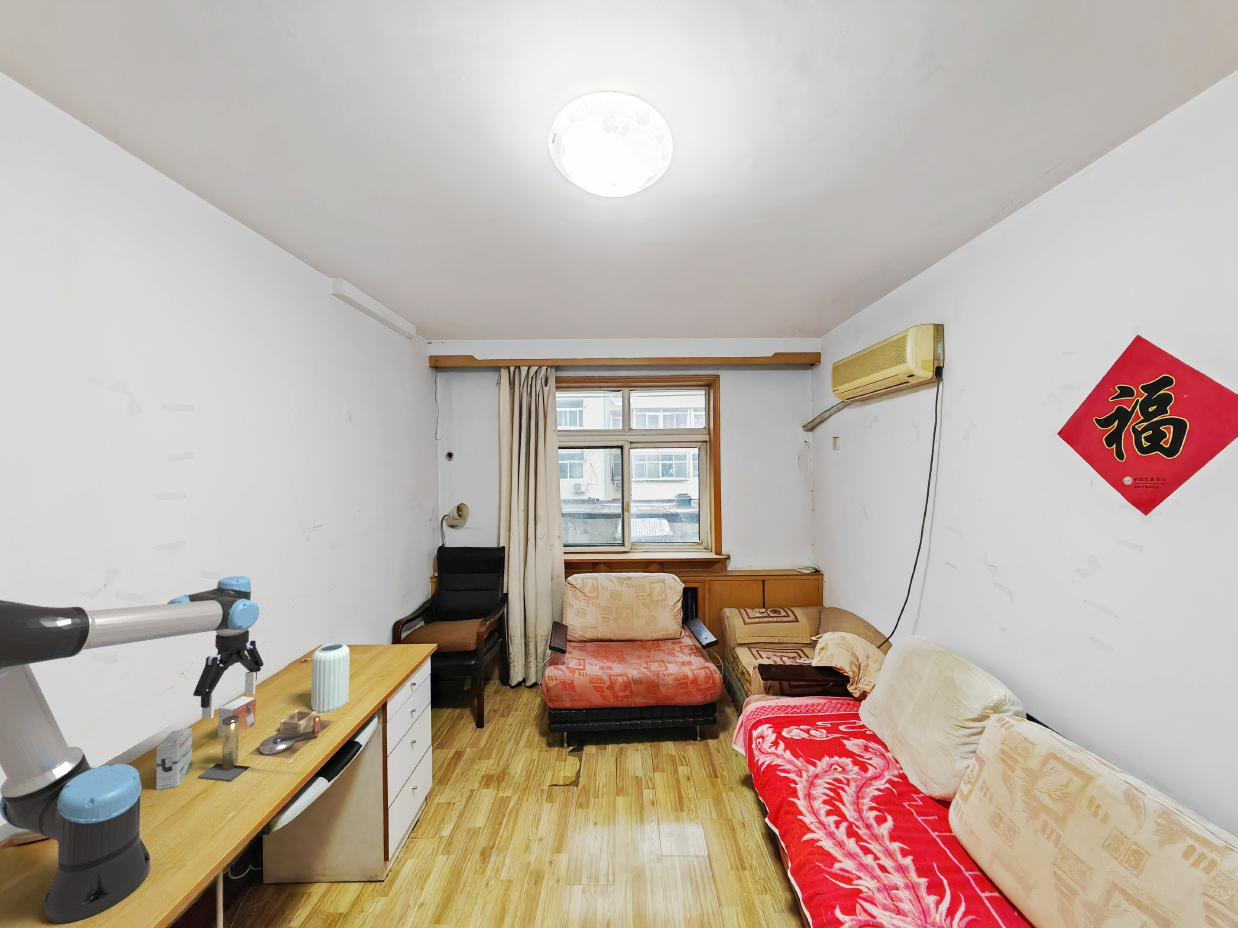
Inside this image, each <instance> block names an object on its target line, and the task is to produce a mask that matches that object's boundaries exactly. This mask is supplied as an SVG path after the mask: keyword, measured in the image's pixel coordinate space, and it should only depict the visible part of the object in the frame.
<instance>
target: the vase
mask: <svg viewBox="0 0 1238 928" xmlns="http://www.w3.org/2000/svg"><path fill="white" fill-rule="evenodd" d="M350 653H351V650H350V648H349V646H347V645H346V644H343V643H341V642H331V643H327V644H324V645H321V646H319V647H318V648H317V649H316V650H315V651H314V652H313V654H312V657H311V659H312V660H311V696H310V697H311V701H310V705H311V708H312V711H317V713H327V712H329V713H330V712H334V711H336V710H339V709H340V708H343V707H344V706H346V704H348V702H349V699H350V697H349V696H350V695H349V694H350V660H351V659H350V655H351V654H350Z"/></svg>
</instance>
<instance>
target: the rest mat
mask: <svg viewBox="0 0 1238 928" xmlns="http://www.w3.org/2000/svg"><path fill="white" fill-rule="evenodd" d="M250 768H251V766H248V765H240V764H239V765H238V766H237V767H236V768H234V769H232V770H228V771H223V770H222V763H218V762H217V763H215V764H214V765H212V766H211V767H209V768H208V769H206V770H205V771H203V772H202V773H200V774H199V775H198V776H197V779H201V780H202V779H204V780H212V781H222V782H232V781H234V780H235V779H236V778H238V777H240V775H242V774H243V773H244V772H246V771H247V770H248V769H250Z"/></svg>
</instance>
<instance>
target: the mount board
mask: <svg viewBox="0 0 1238 928" xmlns="http://www.w3.org/2000/svg"><path fill="white" fill-rule="evenodd" d="M334 722H335V720H330V719H329V720H328V719H320V733H319V734H317V735H309V736H305V737H300V738H296V739H295V743H294V745H293V746H292V747H290V748H289V749H287V750H285V751H282V752H280V753H276V754H262V753H260V751H259V746H257V747H256V748H255V749H254V750H252V751H251V752H249V753H248V755H252V756H263V757H275V758H284V759H291V757H293V756H294V755H296V754H297V753H298V752H299V751H300V750H301V749H303V748H304V747H305V746H306V745H308V744H309V743H310V742H311V741H312V740H314V739H315V738H316V737H317V736H319V735H320V734H321V733H322V732H324V730H326V729H327V728H329V726H331V724H333V723H334ZM309 731H313V725H312V726H311V727H309V728H308V729H307V730H306V731H304V732H309ZM304 732H303V733H304ZM281 733H282V732H280V731H278V732H277V733H276V734H274V735H277V734H281ZM292 734H293V733H292ZM294 735H295V734H294Z"/></svg>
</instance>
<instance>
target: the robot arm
mask: <svg viewBox="0 0 1238 928" xmlns="http://www.w3.org/2000/svg"><path fill="white" fill-rule="evenodd" d="M251 595H252V583H251V578H249V577H247V576H243V575H237V576H227V577H223V578H221V579H219V580H218V582H217V585H216V588H212V589H209V590H204V591H200V592H195V593H190V594H184V595H182V596H178V597H175V598H172V599H170V600H169V601H168V602H167V603H164V604H162V603H161V604H154V605H142V606H141V605H140V606H128V607H119V608H107V609H95V610H93V609H92V610H87V609H86V608H84V607H82V606H69V607H66V606H65V607H55V606H53V607H52V606H41V605H35V604H27V603H24V602H23V603H22V602H15V601H10V600H9V601H8V600H4V599H0V767H1V769H2V771H3V773H4V774H5V777H6V779H5V780H4V781H3V783H2V784H1V786H0V795H1V798H0V815H1V817H2V818H3V819H4V820H5V821H6V822H7V823H8V824H9V825H10V826H12V827H14V828H17V829H22V830H27V831H30V832H32V833H35V834H38V835H40V836H41V835H42V836H44V837H45V838H50V839H52V840H54V841H57V846H58V847H57V852H58V853H57V859H58V861H57V865H58V866H57V870H56V873H55V876H54V878H53V881H52V883H51V887H50V889H49V890H48V891H47V894H46V896H45V899H44V904H43V905H44V907H43V908H44V909H43V915H44V918H45V919H46V920H47V921H49V922H52V923H61V924H62V923H70V922H76V921H79V920H82V919H86V918H89V917H91V916H94V915H97V914H99V913H100V912H103V911H105V910H107V909H109V908H111V907H113V906H115V905H116V904H118V903H120V902H121V901H123V900H124V899H125V898H127V897H129V896H130V895H131V894H132V893H133V892H135V890H137V889H138V888H139V887H141V885H142V884H143V883H144V882H145V881H146V879H147V877H148V876H149V874H150V871H151V855H150V853H149V851H148V849H147V847H146V845H145V843H144V842H143V840H142V838H141V836H140V832H141V831H140V828H141V827H140V826H141V793H142V781H141V776H140V772H139V771H138V769H137V768H135V767H134V766H132V765H129V764H125V763H115V764H113V765H109V764H107V765H102V766H98V767H94V768H92V767H91V766H90V764H89V762H88V760H87V757H86V756H85V754H84V751H83V749H82V748H80V747H78V746H68V743H67V741H66V740H65V737H64V735H63V732H62V731H61V728H60V727H59V725H58V722H57V720H56V719H55V716H54V714H53V711H52V710H51V708H50V706H49V704H48V701H47V699H46V697H45V695H44V694H43V690H42V689H41V687H40V685H39V682H38V680H37V679H36V676H35V674H34V673H33V669H32V668H31V666H30V664H36V663H44V662H47V661H54V660H61V659H67V658H71V657H75V656H77V655H79V654H80V653H82V651H84V650H92V649H96V648H104V647H112V646H117V645H124V644H130V643H131V644H132V643H138V642H145V641H151V640H152V641H153V640H158V639H165V638H170V637H178V636H186V635H193V634H198V633H199V634H200V633H207V632H215V633H216V635H215V640H214V641H215V645H214V647H215V648H216V649H217V653H216V655H214V656H211V655H210V656H207V657H206V658H205V662H204V663H205V664H204V668H203V670H202V672H201V674H200V677H199V680H198V681H197V684H196V687H195V689H194V690H193V694H192V696H193V697H200V708H201V709H202V710H201V719H207V720H210V719H211V720H212V719H213V718H214V717H215V716H214V715H215V693H213V692H214V690H215V689H216V686H217V685H218V683H219V681H220V680H221V678H222V676H223V675H224V673H225V672H226V671H227V670H228V669H229V667H232V666H233V665H235V664H237V663H240V665H241V666H242V667H244V668H245V669H246V670H247V672H245V678H244V679H245V680H244V695H246V696H254V695H255V694H256V682H257V679H258V672H261V670H262V668H261V667H264V662H263V661H264V660H262V657H261V655H260V652H259V651H258V649H257V641H255V640H252V639H250V638H249V637H250V631H249V628H251V627H253V625H255V624H256V622H257V620H258V619H259V616H260V606H259V605H258V603H256V602H255V601H252V600H251Z"/></svg>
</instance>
